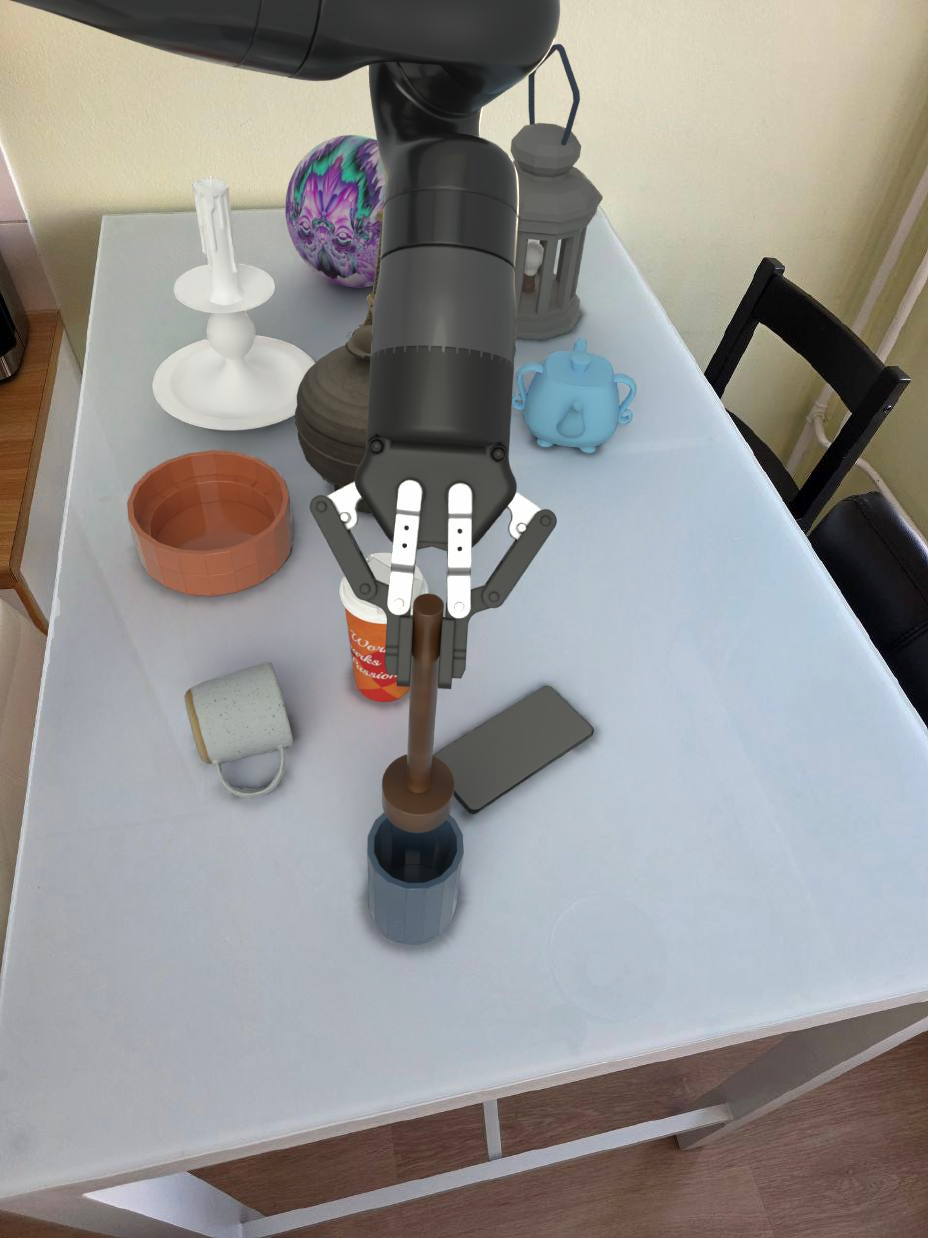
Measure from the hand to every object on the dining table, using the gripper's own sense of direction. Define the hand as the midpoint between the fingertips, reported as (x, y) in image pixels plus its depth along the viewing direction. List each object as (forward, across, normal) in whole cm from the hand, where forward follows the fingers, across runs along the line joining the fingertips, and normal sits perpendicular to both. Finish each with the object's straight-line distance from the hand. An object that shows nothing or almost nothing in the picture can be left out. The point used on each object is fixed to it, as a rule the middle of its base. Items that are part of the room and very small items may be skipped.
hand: (424, 684), depth 49 cm
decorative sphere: (-49, -13, +94) cm, 107 cm away
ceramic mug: (+12, -15, +34) cm, 39 cm away
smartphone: (+10, +8, +35) cm, 37 cm away
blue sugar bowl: (-23, +16, +69) cm, 74 cm away
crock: (+21, 0, +24) cm, 32 cm away
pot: (-15, -7, +60) cm, 62 cm away
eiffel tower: (-33, -7, +78) cm, 85 cm away
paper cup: (+5, -4, +40) cm, 41 cm away
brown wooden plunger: (+10, 0, +13) cm, 16 cm away
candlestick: (-27, -26, +72) cm, 81 cm away
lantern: (-45, +12, +90) cm, 101 cm away
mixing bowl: (-7, -23, +52) cm, 57 cm away
